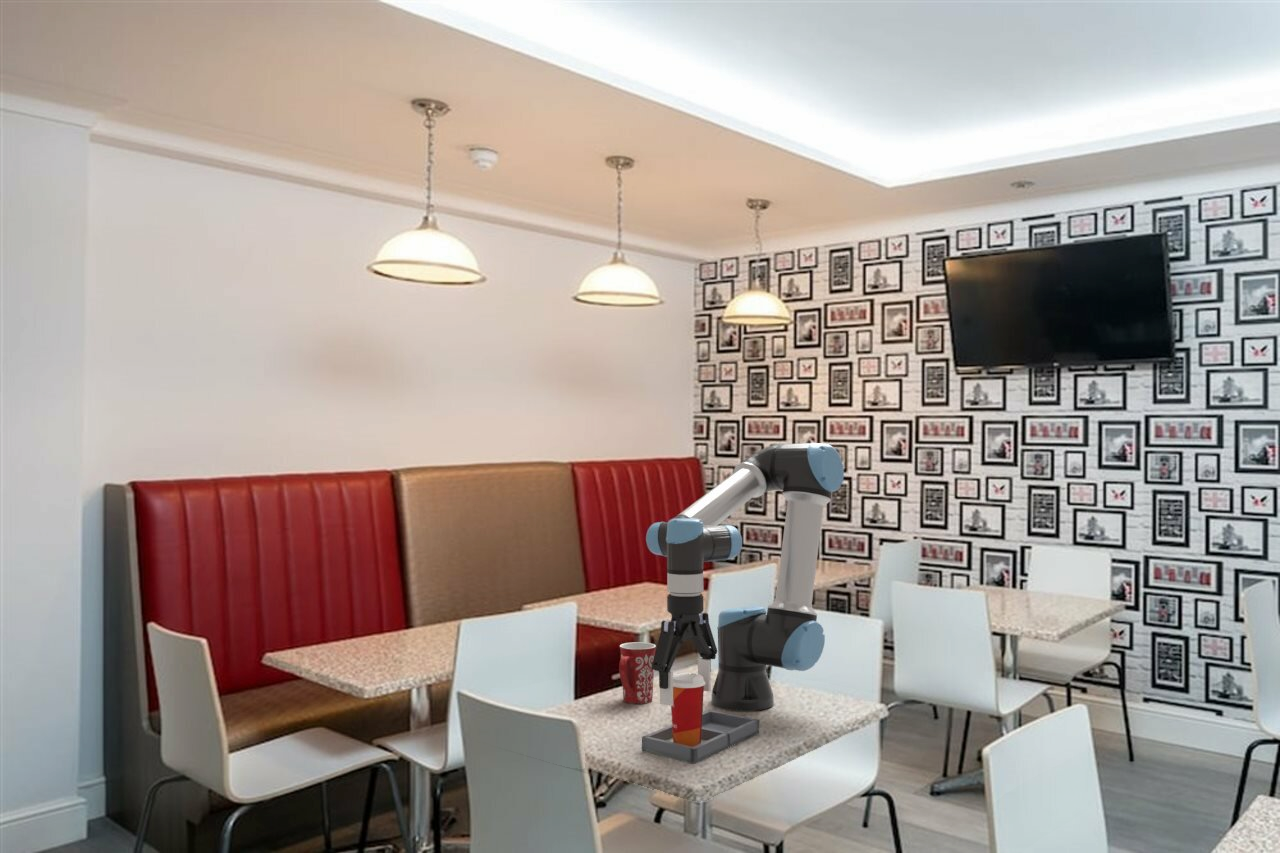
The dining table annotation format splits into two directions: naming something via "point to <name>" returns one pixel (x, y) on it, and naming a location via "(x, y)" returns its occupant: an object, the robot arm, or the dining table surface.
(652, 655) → the mug
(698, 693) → the paper cup
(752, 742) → the dining table surface
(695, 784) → the dining table surface
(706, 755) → the cup carrier
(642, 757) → the dining table surface
